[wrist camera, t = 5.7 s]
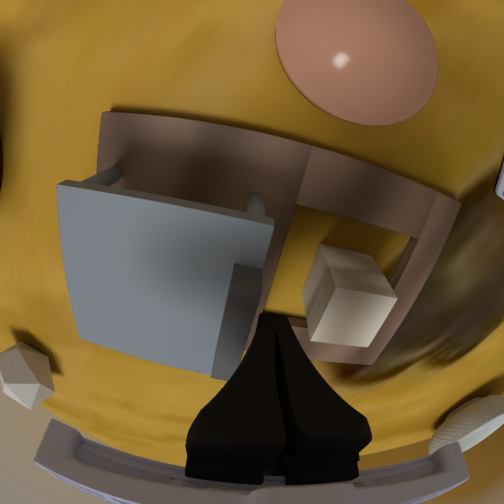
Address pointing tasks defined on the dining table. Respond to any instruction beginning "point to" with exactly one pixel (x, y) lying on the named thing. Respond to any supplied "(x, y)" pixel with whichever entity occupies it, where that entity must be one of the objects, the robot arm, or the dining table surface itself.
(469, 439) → the cereal bowl
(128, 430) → the dining table surface
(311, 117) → the dining table surface
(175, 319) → the grey miniature stool
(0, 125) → the dining table surface
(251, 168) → the puzzle board
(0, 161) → the food container
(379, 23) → the dish
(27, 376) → the die
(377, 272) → the block
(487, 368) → the dining table surface
